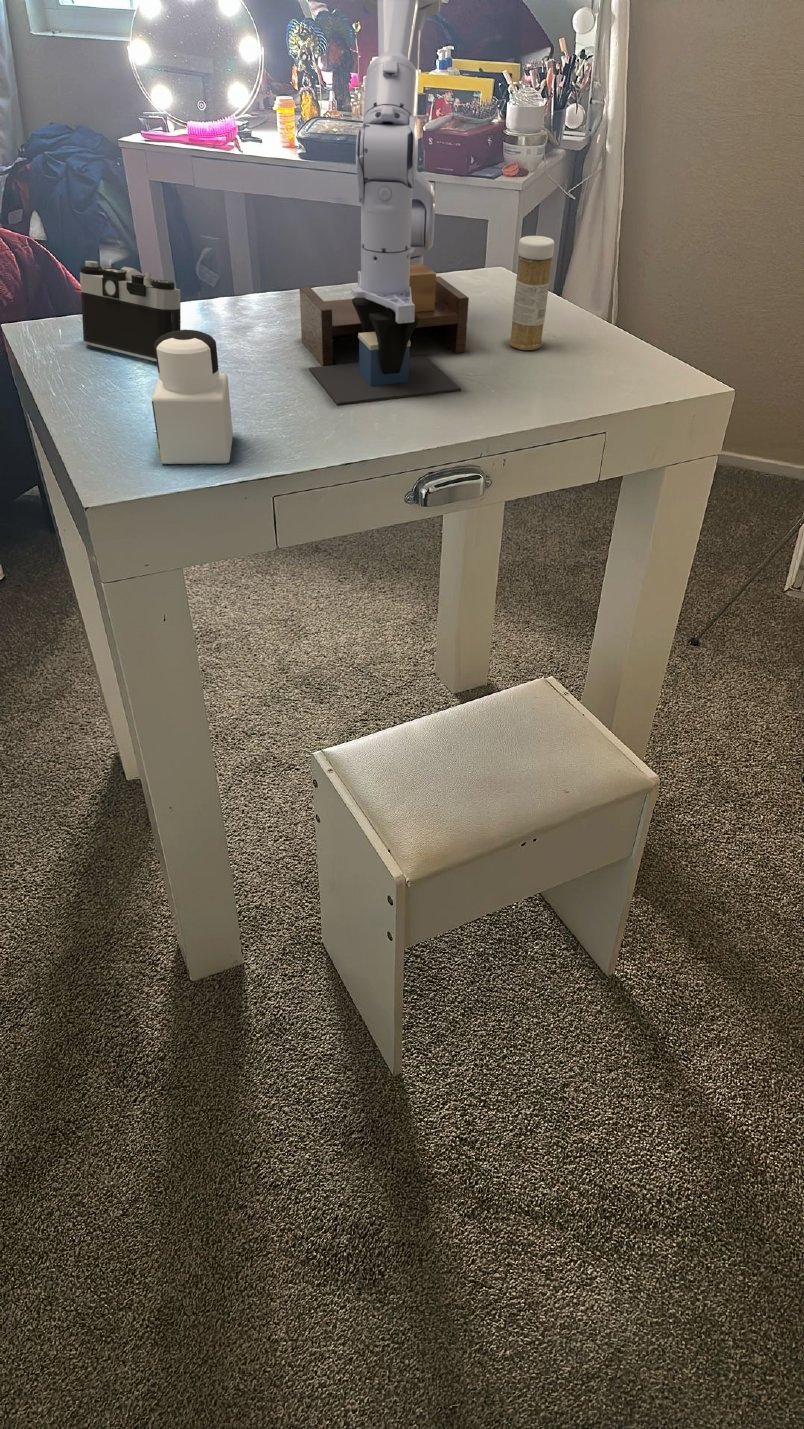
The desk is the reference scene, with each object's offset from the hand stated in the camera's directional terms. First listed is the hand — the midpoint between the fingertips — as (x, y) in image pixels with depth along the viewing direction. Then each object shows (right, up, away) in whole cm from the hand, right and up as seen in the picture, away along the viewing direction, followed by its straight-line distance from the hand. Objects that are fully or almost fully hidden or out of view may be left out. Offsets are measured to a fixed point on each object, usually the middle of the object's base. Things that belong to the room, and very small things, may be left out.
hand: (383, 365), depth 116 cm
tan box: (+4, +11, +8) cm, 14 cm away
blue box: (0, -1, +1) cm, 2 cm away
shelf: (0, +7, +10) cm, 12 cm away
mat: (0, -1, +1) cm, 2 cm away
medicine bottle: (-20, -15, -16) cm, 29 cm away
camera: (-32, +6, +8) cm, 33 cm away
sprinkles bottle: (+19, +7, +12) cm, 24 cm away
